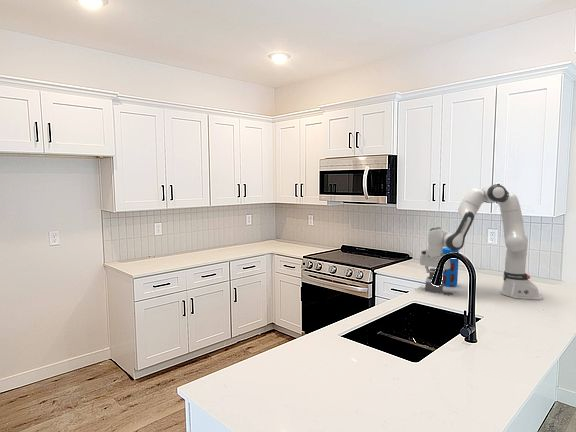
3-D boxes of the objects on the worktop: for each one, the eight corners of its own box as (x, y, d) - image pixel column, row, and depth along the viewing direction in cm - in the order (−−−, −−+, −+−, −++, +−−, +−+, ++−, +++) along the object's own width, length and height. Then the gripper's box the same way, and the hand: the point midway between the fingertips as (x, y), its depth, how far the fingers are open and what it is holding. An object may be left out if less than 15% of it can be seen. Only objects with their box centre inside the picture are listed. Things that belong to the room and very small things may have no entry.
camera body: (442, 289, 255) (443, 277, 254) (441, 293, 247) (442, 280, 246) (426, 288, 259) (426, 276, 259) (425, 291, 251) (425, 278, 250)
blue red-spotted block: (459, 287, 262) (461, 250, 260) (443, 287, 263) (445, 250, 261) (453, 283, 273) (454, 247, 271) (437, 283, 273) (439, 247, 271)
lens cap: (453, 294, 246) (453, 293, 246) (453, 296, 241) (453, 295, 241) (444, 293, 248) (444, 292, 248) (443, 295, 243) (443, 294, 243)
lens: (433, 280, 256) (433, 267, 255) (439, 282, 251) (440, 269, 250) (427, 280, 254) (427, 268, 253) (433, 282, 249) (433, 270, 248)
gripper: (452, 254, 245) (452, 276, 245) (424, 250, 261) (423, 270, 262) (447, 255, 241) (446, 277, 242) (418, 251, 257) (418, 272, 258)
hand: (434, 274), depth 252 cm, fingers open, 8 cm apart
